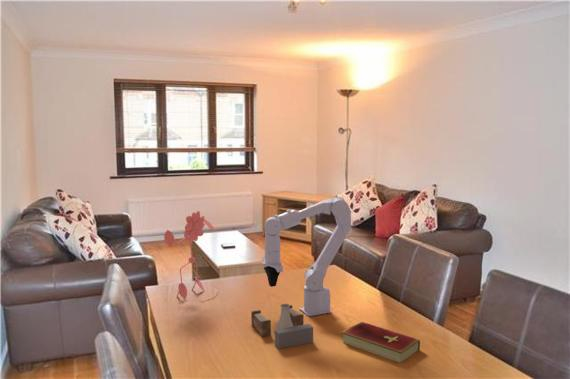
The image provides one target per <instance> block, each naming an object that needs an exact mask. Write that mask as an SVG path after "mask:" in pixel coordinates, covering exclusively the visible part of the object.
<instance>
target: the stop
mask: <svg viewBox="0 0 570 379" xmlns="http://www.w3.org/2000/svg"><path fill="white" fill-rule="evenodd" d="M312 343H314V327H313V325H311V324H310V323H305V324H304V325H299V326H294V327H288V328H282V329H277V330H276V329H274V346H275V347H276V348H277V349H278V350H280V349H284V348H291V347H296V346H301V345H306V344H312Z"/></svg>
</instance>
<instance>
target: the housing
mask: <svg viewBox="0 0 570 379" xmlns="http://www.w3.org/2000/svg"><path fill="white" fill-rule="evenodd" d="M289 305H290V307H289V314H290V318H291V321H292V324H293V327H294V326H299V325H305V324H304V322H305V321H304V319H305V318H304V314H305V313H299V312H298V311H296V310H295V308H293V305H292V304H289ZM250 312H251V318H250V319H251V327H254V329H255V330H257V332H258V333H259V334H260V336H261V337H267V336H271V334H272V323H271V322H272V321H271V320H272V319H270V318H269V319H268V318H266V317H265V315H263V314H262V309H257V310H251V311H250Z"/></svg>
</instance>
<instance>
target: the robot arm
mask: <svg viewBox="0 0 570 379" xmlns="http://www.w3.org/2000/svg"><path fill="white" fill-rule="evenodd" d="M331 213H332V215H333V216H334V219H335V222H336V226H335V227H334V229H333V231H332V232H331V235H330V237H329V239H327V241H326V243H325V245H324V247H323V248H322V250H321V252H320V254H319V255H318V257H317V259H316V260H315V261H314V262H313V264H312V265H311V266H310V267H309V268H308V269H307V270H305V272H304V279H305V285H304V286H303V307H299V310H300V311H302V312H303V314H305V315H306V316H308V317H312V316H318V315H323V314H324V315H325V314H330V313H332V310H331V291H330V289H329V288H328V287H327V286H324V279H325V277H326V275H327V271H328V268H329V267H330V265H331V263H332V262H333V260H334V258H335V256H336V255H337V253H338V252H339V249H340V247H341V246H342V244H343V242H344V241H345V240H346V237H347V236H348V234H349V232H350V230H351V229H352V216H351V215H352V211H351V208H350V206H349V204H348V203H347V202H346V201H345V199H344V198H343V197H341V196H334V197H333V198H326V199H324V200H321V201H320V202H317V203H314V204H312V205H310V206H307V207H305V208H303V209H301V210H296V209H291V208H290V209H287V210H286V211H285V212H283V213H281V214H280V213H279V214H275V215H274V216H270V217H268V218H267V219H266V220H265V222H264V230H265V232H264V236H265V237H264V257H262V262H261V265H262V266H264V267H263V270H264V271H265V274H266V277H267V282H268V285H269V287H277V284H278V278H279V276H280V275H281V274H280V273H282V272H283V271H284V270H283V265H282V261H281V237H280V231H284V230H287V229H290V228H292V227H295V226H297V225H298V226H299V225H300V224H301V220H304V219H307V218H309V217H313V216H316V215H319V214H325V215H328V216H329V215H331Z"/></svg>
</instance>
